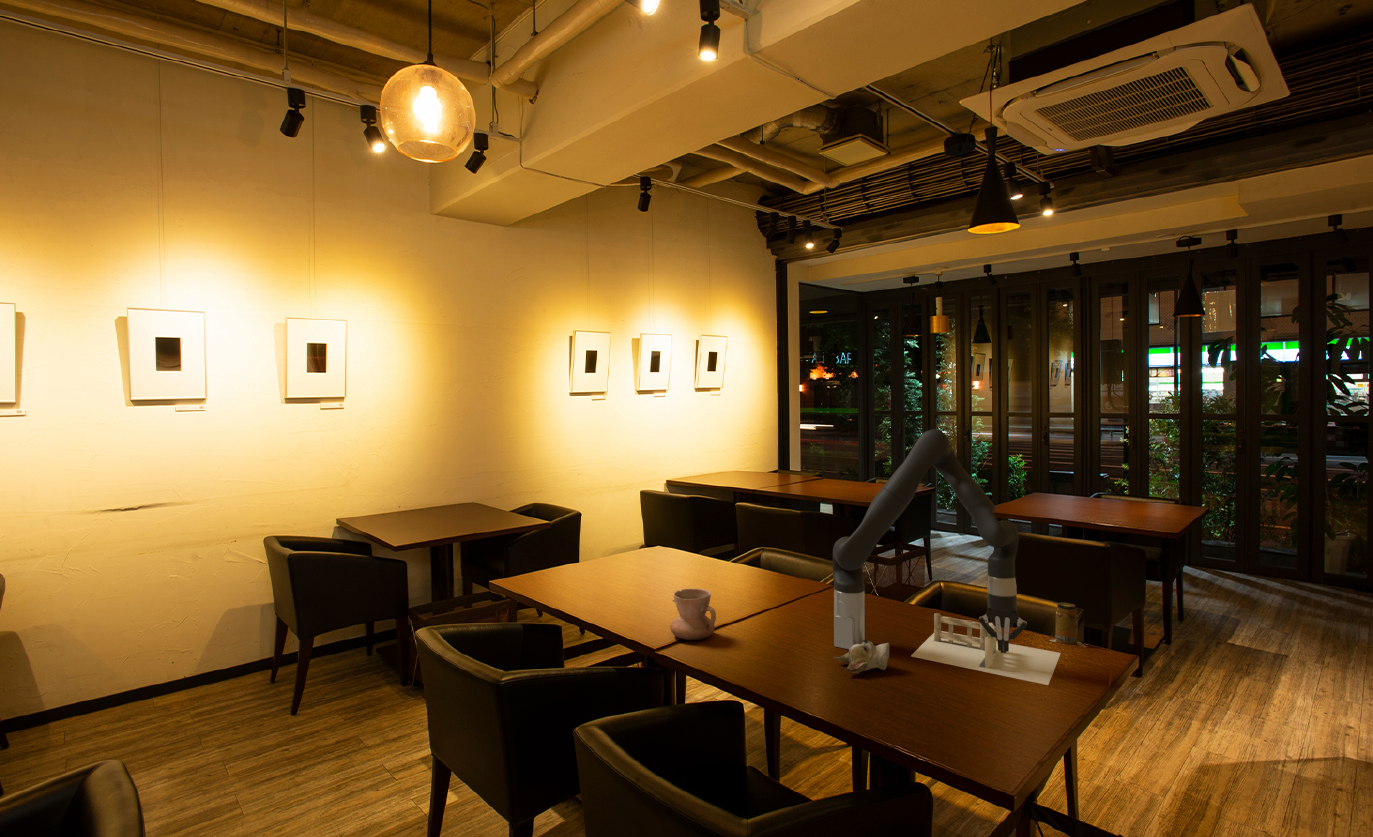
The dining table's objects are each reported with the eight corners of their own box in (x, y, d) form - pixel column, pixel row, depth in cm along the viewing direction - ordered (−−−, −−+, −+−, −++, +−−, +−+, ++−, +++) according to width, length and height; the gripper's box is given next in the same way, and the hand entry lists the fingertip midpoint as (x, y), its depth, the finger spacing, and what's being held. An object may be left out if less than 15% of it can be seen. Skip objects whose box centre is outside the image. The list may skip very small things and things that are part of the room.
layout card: (1048, 686, 175) (1048, 684, 175) (910, 657, 196) (910, 655, 196) (1060, 654, 198) (1060, 652, 198) (936, 631, 219) (936, 629, 219)
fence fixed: (987, 649, 201) (987, 621, 201) (986, 651, 200) (986, 623, 200) (935, 639, 210) (935, 612, 210) (933, 640, 209) (933, 614, 209)
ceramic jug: (658, 635, 216) (658, 592, 215) (689, 625, 226) (689, 584, 226) (698, 649, 203) (698, 603, 203) (729, 637, 214) (729, 594, 213)
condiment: (1063, 637, 213) (1063, 600, 212) (1089, 646, 205) (1089, 607, 205) (1048, 641, 209) (1048, 603, 209) (1074, 649, 202) (1074, 610, 202)
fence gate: (989, 648, 201) (989, 622, 201) (996, 649, 200) (996, 623, 200) (984, 666, 187) (984, 638, 187) (992, 668, 186) (992, 639, 186)
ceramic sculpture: (896, 643, 183) (844, 649, 181) (898, 674, 183) (846, 681, 181) (880, 631, 193) (831, 636, 192) (882, 660, 193) (833, 666, 192)
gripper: (1027, 590, 189) (1029, 651, 189) (977, 586, 195) (978, 645, 195) (1028, 597, 182) (1029, 660, 182) (975, 592, 188) (977, 653, 188)
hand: (1003, 652), depth 188 cm, fingers closed
